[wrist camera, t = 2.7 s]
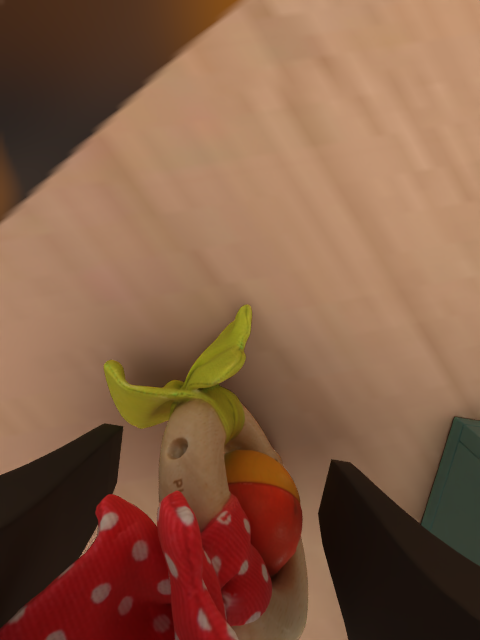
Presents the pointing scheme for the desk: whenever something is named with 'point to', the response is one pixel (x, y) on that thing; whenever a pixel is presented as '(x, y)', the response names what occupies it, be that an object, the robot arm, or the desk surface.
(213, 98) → the desk surface
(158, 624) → the bird rattle
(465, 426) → the open box
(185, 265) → the desk surface
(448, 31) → the desk surface
